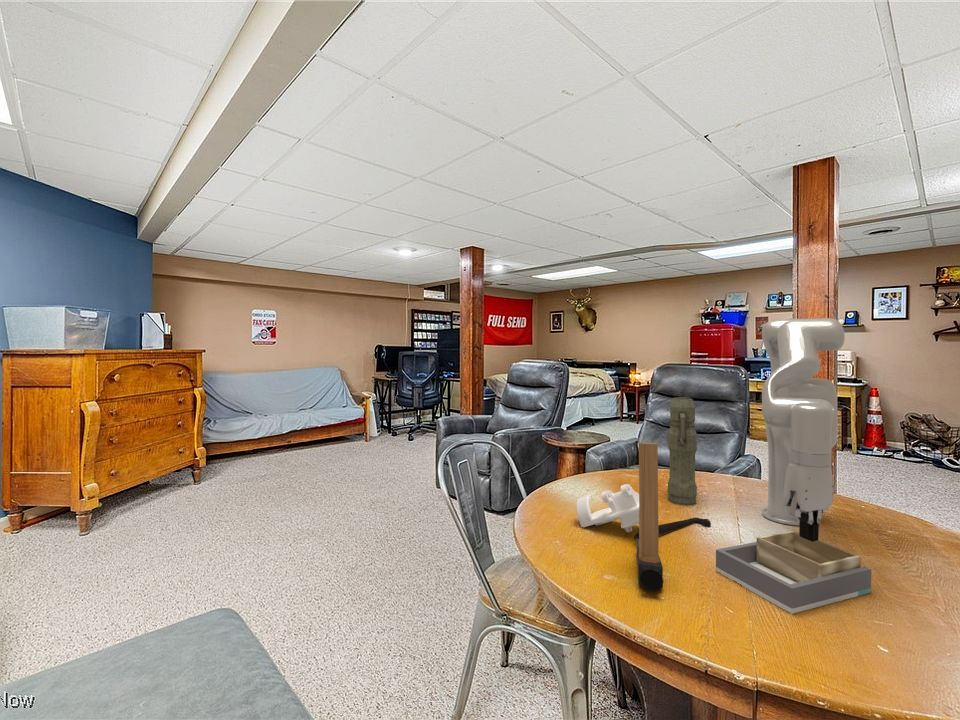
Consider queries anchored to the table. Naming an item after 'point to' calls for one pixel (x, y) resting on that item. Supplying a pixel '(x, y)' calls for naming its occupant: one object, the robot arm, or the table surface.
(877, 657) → the table surface
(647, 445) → the hammer
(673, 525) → the wrench
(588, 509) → the white plastic bracket
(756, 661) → the table surface
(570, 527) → the table surface
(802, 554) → the crate
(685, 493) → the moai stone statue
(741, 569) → the bay
